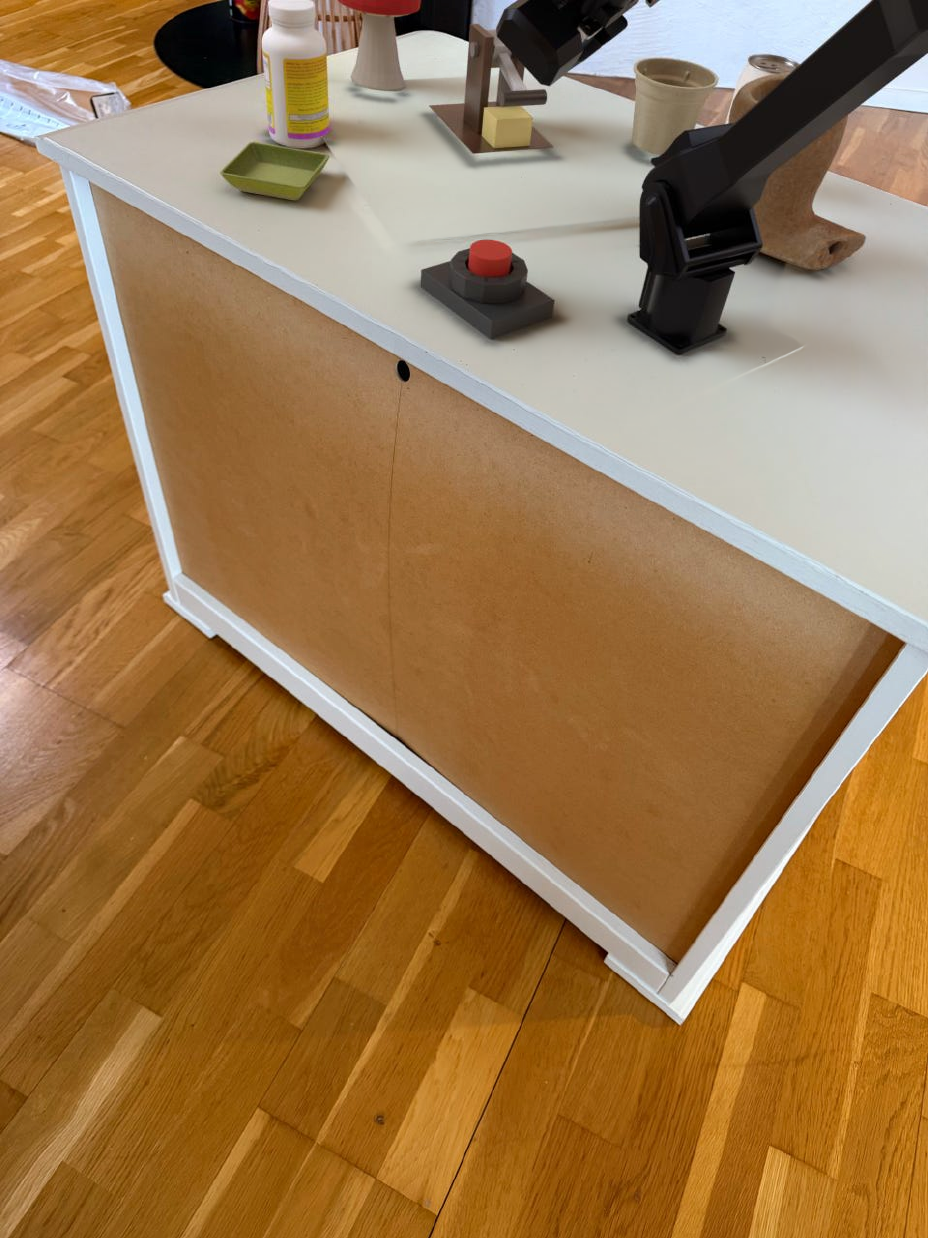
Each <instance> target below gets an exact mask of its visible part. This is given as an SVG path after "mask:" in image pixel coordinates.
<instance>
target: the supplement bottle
mask: <svg viewBox="0 0 928 1238" xmlns="http://www.w3.org/2000/svg"><path fill="white" fill-rule="evenodd" d="M267 4H268V5H267V7H268V17H269V19H270V21H271V26H270V27H269V28H267V29H266V30H265V31H264V32H263V35H262V36H261V37H262V38H261V52H262V63H263V65H262V66H263V76H264V88H265V99H266V101H265V102H266V111H267V112H266V114H267V124H268V125H267V126H268V133H269V137H270V138H271V139H272V141H274V142H275V143H277V144H278V145H280V146H283V147H288V148H294V149H312V148H316V147H319V146H322V145H323V144H325V143H326V141H325V140H324V139H323V137H324V136H326V135H328V133H329V132H330V110H329V83H328V82H329V81H328V54H327V52H328V50H327V42H326V39H325V37H324V36H323V35H322V33H321V32H320V31H319V30H317V29H316V28H315V22H316V19H317V13H316V10H317V9H316V3H315V2H314V1H313V0H268V2H267Z"/></svg>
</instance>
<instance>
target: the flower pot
mask: <svg viewBox="0 0 928 1238" xmlns="http://www.w3.org/2000/svg"><path fill="white" fill-rule="evenodd" d="M633 73H634V74H635V78H634V79H635V80H634V85H635V88H636V89H635V98H634V99H635V101H634V112H633V122H632V132H631V143H632V144H633V145H634V146H635V147H636V148H638V149H639V150H642V151H644V152H647V153H650V154H655V155H659V156H660V155H662V154H663V153H665V151H666V150H667V149H668V148H669V146H670V145H671V144H672V142H673V141H674V140H675V138H676V137H678V136H679V135H680V134H681V133H682V132H683V131H685V130H691V129H696V126H697V123H698V122H699V121H698V120H699V118H700V115H701V113H702V110H703V108H704V105H705V104H706V101H707V100H708V99H709V98H710V96H711V93H712V91H713V89H714V88H716V87H717V85H718V83H719V76H718V75H717V74H716V73H715V72H714V71H713V70H712V69H709V68H708V67H706V66H703V65H701V64H699V63H696V62H693V61H689V60H685V59H680V58H673V57H663V56H662V57H659V56H658V57H657V56H656V57H646V58H641V59H639V60H637V61H635V62H634V63H633Z"/></svg>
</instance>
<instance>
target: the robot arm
mask: <svg viewBox="0 0 928 1238" xmlns="http://www.w3.org/2000/svg"><path fill="white" fill-rule="evenodd" d="M639 1H640V0H516V1H513V2H512V3H511V4H510V5H508V6H506V7H505V8H504V9H503V10H502V11H503V12H502V14H501V16H500V18H499V20H498V23H497V24H496V27H495V30H496V35H497V37H498V39H499V40H500V41H501V42H502V43H503V44H504V45H505V46H506V47H507V48H508V49H509V50H510V52H511V53H512V54H513V55H514V56H515V57H516V58H517V59H518V60H519V61H520V62H521V64H522V65H523V66H524V67H525V69H526V70H527V71H528V73H529V74H531V76H532V77H533V78H534V79H535V80H536V81H537V82H538V83H539V85H542V86H545V87H551V86H552V85H554V84H555V83H557V81H558V80H560V79H562V78H563V77H564V76H565V75H566V74H568V73H569V72H570V71H571V70H573V69H574V68H576V67H577V66H579V65H580V64H581V63H583V62H584V61H586V60H587V59H589V58H590V57H592V56H593V55H594V54H595V53H597V52H598V51H599V50H600V49H601V48H602V47H604V46H605V45H607V44H608V43H609V42H610V41H612V40H613V39H615V38H616V37H617V36H618V35H619V34H621V33H622V32H623V31H625V30H626V29H627V28H628V25H629V21H628V20H627V18H626V17H625V16H624V14H626V13H627V12H628V11H630V10H631V9H632V8H633V7H634V6H636V5H637V4H638V3H639ZM660 1H661V0H645V4H646V6H648V8H650V9H651V8H652V7H653V6H655V5H656V4H657V3H658V2H660ZM926 55H928V0H870V1H869V2H868V3H867V4H866V5H865V6H864V7H863V8H861V9H860V10H859V11H858V12H857V13H856V14H854V15H853V16H852V17H851V18H850V19H849V20H848V21H847V22H846V23H845V24H843V25H842V26H841V27H840V28H839V29H838V30H836V31H835V32H834V33H833V34H832V35H831V36H830V37H829V38H827V39H826V41H824V42H823V43H822V44H821V45H820V46H819V47H818V48H816V50H814V51H813V52H812V53H811V54H810V55H809V56H807V58H805V59H803V61H802V62H801V63H799V64H800V65H799V66H798V67H797V68H795V69H794V70H793V71H792V72H791V73H790V74H789V75H788V76H787V77H785V78H784V79H783V80H782V81H781V82H780V83H779V84H778V85H776V86H775V87H774V88H773V89H772V90H771V91H770V92H769V93H768V94H766V95H765V96H764V97H763V98H762V99H761V100H760V101H759V102H757V103H756V104H755V105H754V106H753V107H752V108H751V109H750V110H749V111H747V112H746V113H745V114H744V115H743V116H742V117H741V118H740V119H738V120H737V121H736V122H734V123H728V124H725V123H721V124H716V125H710V126H704V127H698V128H694V129H691V130H685V131H683V132H682V133H681V134H680V135H679V136H678V137H676V138H675V140H674V141H673V142H672V144H671V145H670V146H669V148H668V149H667V150H666V151H665V153H663V154H662V155H659V156H655V157H652V158H651V159H650V163H651V165H652V166H654V167H653V168H651V169H650V170H649V172H648V173H647V174H646V176H645V177H644V179H643V182H642V184H641V190H642V191H641V194H640V197H639V210H638V211H639V214H638V215H639V216H638V217H639V218H638V220H639V221H638V222H639V224H638V225H639V227H638V232H639V234H638V236H639V237H638V239H639V241H638V248H639V249H638V250H639V251H638V253H639V255H638V256H639V259H640V260H641V261H643V262H644V263H645V264H646V265H647V268H646V271H645V275H644V276H645V277H644V280H643V284H642V288H641V292H640V296H639V299H638V305H637V307H638V308H639V310H636V311H633V312H631V313H628V314H627V317H626V322H627V323H629V324H630V325H631V326H633V327H635V328H636V329H637V330H639V331H641V332H642V333H644V334H645V335H647V336H649V337H650V338H651V339H653V340H654V341H656V342H657V343H659V344H660V345H662V346H663V347H665V348H666V349H668V350H669V351H671V352H673V353H674V354H678V355H682V354H685V353H687V352H689V351H691V350H694V349H696V348H698V347H701V346H703V345H705V344H707V343H711V342H713V341H715V340H717V339H720V338H722V337H724V336H726V334H727V332H728V329H727V327H725V326H724V325H723V324H720V321H721V319H722V315H723V311H724V309H725V306H726V303H727V299H728V297H729V293H730V291H731V287H732V284H733V281H734V278H735V275H736V271H735V270H733V269H731V268H736V267H739V266H747V265H751V264H752V263H753V261H754V260H755V259H756V257H757V256H758V254H759V253H761V252H760V250H761V249H762V247H763V243H762V239H761V235H760V231H759V227H758V224H757V220H756V216H755V212H754V208H753V206H754V205H755V204H756V203H757V202H758V201H759V200H760V198H761V196H762V193H763V191H764V188H765V185H766V182H767V180H768V178H769V176H770V175H771V174H772V173H773V172H775V171H776V170H777V169H778V168H780V167H781V166H782V165H784V164H785V163H786V162H787V161H789V160H790V159H791V158H793V157H794V156H795V155H797V154H798V153H799V152H800V151H802V150H803V149H804V148H806V147H807V146H808V145H810V144H811V143H812V142H813V141H815V140H816V139H817V138H819V137H820V136H821V135H822V134H824V133H825V132H826V131H828V130H829V129H830V128H832V127H833V126H834V125H835V124H837V123H838V122H839V121H841V120H842V119H843V118H845V117H846V116H847V115H848V116H849V115H850V114H851V113H852V112H854V111H855V110H856V109H858V108H859V107H861V106H862V105H863V104H864V103H866V101H868V100H870V99H871V98H872V97H873V96H875V94H877V93H878V92H880V91H881V90H883V89H884V88H885V87H886V86H888V84H890V83H891V82H893V81H894V80H895V79H897V78H898V77H899V76H900V75H902V74H903V73H904V72H906V71H907V70H908V69H909V68H911V67H913V65H915V64H916V63H917V62H919V61H920V60H921V59H922V58H924V57H925V56H926Z"/></svg>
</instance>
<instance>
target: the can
mask: <svg viewBox="0 0 928 1238" xmlns="http://www.w3.org/2000/svg"><path fill="white" fill-rule="evenodd" d="M800 64H801V63H799V62H797V61H795V60H794V59H791V58H788V57H786V56H782V55H777V54H771V53H768V54H767V53H757V54H755V53H754V54H752V55H750V56H748V57H747V63H746V65H745V66H744V67H743V68H742V70H741V71H740V73H739V75H738V78H737V81H736V84H735V88H734V92H733V94H732V95H733V96H732V98H731V103H730V106H729V109H728V113H727V116H726V120H725V123H724V124H728V122H729V114H730V109H731V106H732V102H733V100H734V98H735V96H736V94H737V93H738V91H739V90H740V89H741V88H742V87H743V86H744V85H745V84H746V83H748V82H751V81H753V80H755V79H757V78H760V77H764V76H768V75H774V74H780V73H789V74H790V73H791V72H792V71H793V70H794V69H795V68H797V67H798V66H799V65H800Z"/></svg>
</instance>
